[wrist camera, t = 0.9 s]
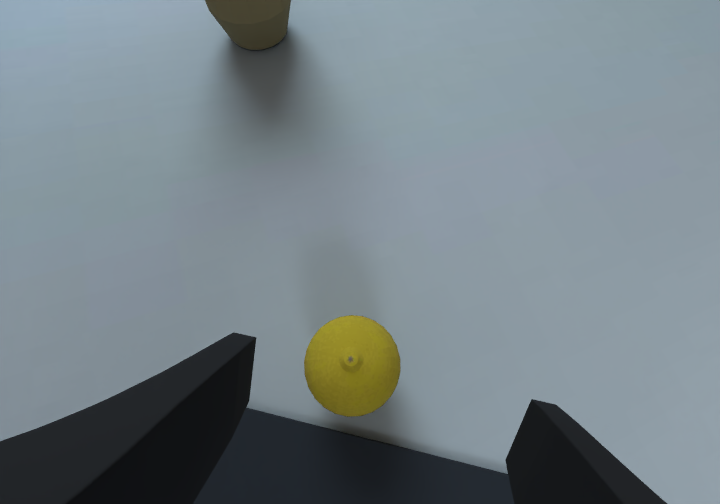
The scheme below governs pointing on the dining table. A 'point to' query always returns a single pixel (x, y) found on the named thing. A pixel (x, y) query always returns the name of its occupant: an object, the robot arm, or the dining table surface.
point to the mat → (338, 470)
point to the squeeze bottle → (252, 21)
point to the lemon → (352, 366)
